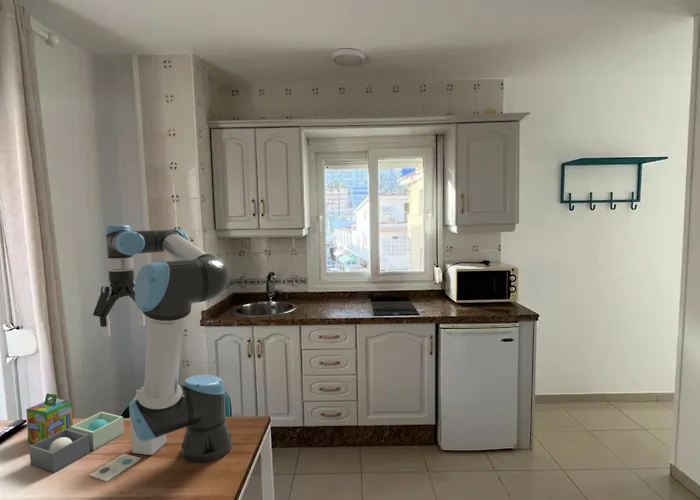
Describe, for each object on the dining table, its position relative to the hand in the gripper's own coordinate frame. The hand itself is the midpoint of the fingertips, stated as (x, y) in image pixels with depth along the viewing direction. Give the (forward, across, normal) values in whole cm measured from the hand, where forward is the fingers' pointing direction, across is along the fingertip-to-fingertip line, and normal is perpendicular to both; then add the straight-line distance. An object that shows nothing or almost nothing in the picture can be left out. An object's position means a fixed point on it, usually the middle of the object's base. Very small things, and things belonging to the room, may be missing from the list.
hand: (125, 330), depth 139 cm
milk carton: (+35, +8, +18) cm, 40 cm away
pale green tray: (+35, +10, -3) cm, 36 cm away
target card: (+35, +19, +17) cm, 43 cm away
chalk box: (+35, +15, -19) cm, 43 cm away
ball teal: (+34, +10, -3) cm, 36 cm away
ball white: (+34, +22, -3) cm, 41 cm away
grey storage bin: (+35, +22, -3) cm, 41 cm away
